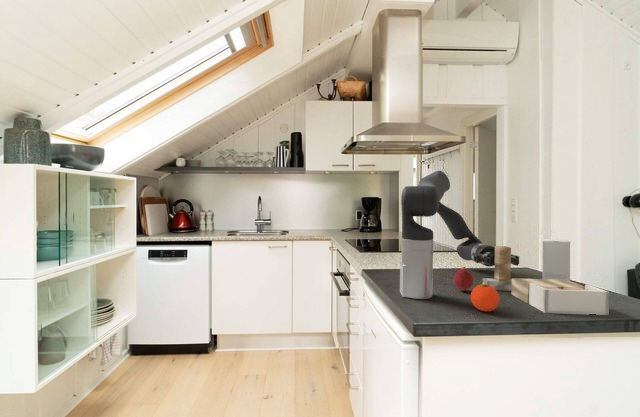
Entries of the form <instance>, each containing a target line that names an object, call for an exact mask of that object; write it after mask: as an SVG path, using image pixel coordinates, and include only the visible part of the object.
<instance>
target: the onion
mask: <svg viewBox="0 0 640 417" xmlns="http://www.w3.org/2000/svg"><path fill="white" fill-rule="evenodd" d="M453 275H454V276H453V282H454V285H455V286H456V287H457V288H458V289H459V290H460V291H461V292H465V291H467V290H469V289H470V288H471V287H472V286H473V284H474V277H473V275H472V273H471V272H470V271H469V270H467V269H466V266H464V265H463V266H461V269H459V270H458V271H456V272H455V274H453Z"/></svg>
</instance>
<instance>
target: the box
mask: <svg viewBox="0 0 640 417" xmlns="http://www.w3.org/2000/svg"><path fill="white" fill-rule="evenodd" d="M584 287H585V290H554V289H545V288H543V287H541V286H538V285H536V284H534V283H530V287H529V304H528V305H529V306H532V307H533V308H535V309H537V310H539V311H541V312H542V313H544V314H563V315H565V314H567V315H589V314H596V315H595V316H609V314H610V311H609V310H610V291H608V290H605V289H602V288H600V287H597V286H594V285H590V284H584ZM587 290H588V291H587Z"/></svg>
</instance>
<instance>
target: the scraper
mask: <svg viewBox="0 0 640 417" xmlns="http://www.w3.org/2000/svg"><path fill="white" fill-rule="evenodd" d="M494 247H495V265H494V272H493V274H494V278H485V277H482V284H486V285H489V286H491V287H493V288H494V289H495V290H496V291H507V292H512V278H511V273H512V272H511V270H512V269H511V268H512V264H511V254H512V247H510V246H505V245H502V246H501V245H499V246H498V245H495V246H494Z"/></svg>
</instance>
